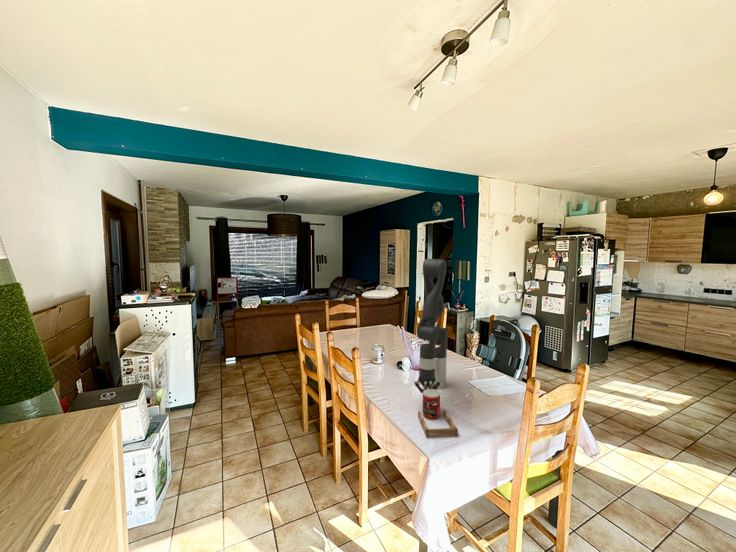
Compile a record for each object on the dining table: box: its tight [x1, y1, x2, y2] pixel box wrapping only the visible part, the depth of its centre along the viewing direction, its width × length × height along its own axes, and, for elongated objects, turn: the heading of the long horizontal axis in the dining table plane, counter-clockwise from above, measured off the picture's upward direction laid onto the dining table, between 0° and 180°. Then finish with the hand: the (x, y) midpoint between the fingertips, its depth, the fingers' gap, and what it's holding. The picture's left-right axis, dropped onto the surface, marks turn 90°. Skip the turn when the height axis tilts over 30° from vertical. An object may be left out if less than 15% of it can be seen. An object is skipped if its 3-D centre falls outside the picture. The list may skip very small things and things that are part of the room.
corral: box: [417, 409, 459, 439], centre depth 133 cm, size 15×13×3 cm
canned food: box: [422, 389, 441, 420], centre depth 142 cm, size 8×8×11 cm
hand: (426, 400), depth 149 cm, fingers closed
